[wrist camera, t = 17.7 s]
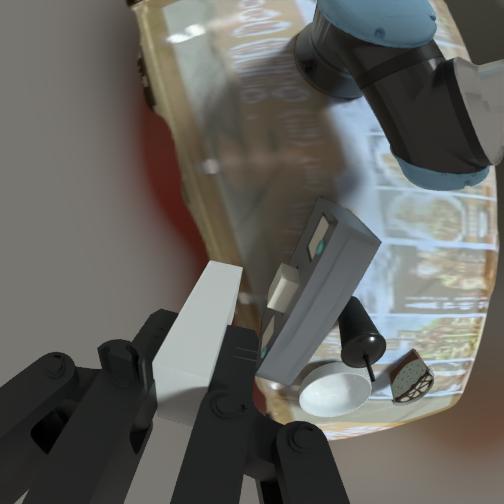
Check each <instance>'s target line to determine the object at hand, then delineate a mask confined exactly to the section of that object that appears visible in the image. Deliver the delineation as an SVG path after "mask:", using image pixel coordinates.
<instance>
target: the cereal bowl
mask: <svg viewBox="0 0 504 504" xmlns="http://www.w3.org/2000/svg"><path fill="white" fill-rule="evenodd" d="M371 390H372V387H371V382H370V379H369V377H368V375H367V373H366V372H365V371H364V370H363V369H362V368H351V367H348V366H347V365H345V364H344V363H343V362H333V363H329V364H325V365H322V366H320V367H318V368H316V369H315V370H313V371H312V372H310V373H309V374H308V375H307V376H306V377H305V379H304V380H303V382H302V383H301V386H300V390H299V403H300V406H301V408H302V409H303V410H304V411H306V412H307V413H309V414H311V415H314V416H319V417H335V416H340V415H344V414H347V413H350V412H352V411H354V410H356V409H358V408H359V407H360V406H362V405H363V404H364V403H365V402H366V401H367V400H368V398H369V396H370V394H371Z"/></svg>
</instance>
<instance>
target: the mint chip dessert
mask: <svg viewBox="0 0 504 504" xmlns="http://www.w3.org/2000/svg"><path fill="white" fill-rule="evenodd" d="M428 367H429V366H428ZM428 367H427V366H426V364H425V363H424V362H423V360H422V359H421V357H420V356H419V354H418V353H417V352H416V350H415V349H412V350H411V351H410V352H409V353H408V354H407V355H406V356H405V357H404V358H403V359H402V360H401V361H400V362H399V363H398V364H397V365H396V366H395V367H394V368H393V369H392V370H391V371H390V372H389V373H388V377H389V381H390V386H391V390H392V395H393V399H394V400H391V401H392V402H393V404H395V405H396V406H403V405H408V404H411V403H413V402H415V401H417V400H419V399H420V398H422V397H423V396H424V395H426V394H427V393H428V392H429V390H430V389H431V388H432V386H433V383H434V373H433V370H432V368H431V367H429V369H428Z"/></svg>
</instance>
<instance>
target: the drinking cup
mask: <svg viewBox="0 0 504 504" xmlns="http://www.w3.org/2000/svg"><path fill="white" fill-rule="evenodd" d="M338 321H339V330H340V338H341V347H342V350H341V359H342V361H343V363H344V364H345V365H347V366H348V367H351V368H364V367H367V370H368V373H369V376H370V380H371V382H374V381H375V377H374V374H373V370H372V367H371V365H372V364H374V363H375V362H377V361H378V360H379V359H380V358H381V357H382V356H383V354H384V353H385V350H386V341H385V339H384V337H383V336H382V335H381V334H380V333H379V332H378V330H377V328H376V327H375V325H374V324H373V322H372V320H371V319H370V317H369V315H368V314H367V312H366V311H365V309H364V308H363V306H362V304H361V303H360V301H359V300H358V299H357V298H356V297H354V296H351V298H350V299H349V301H348V302H347V304H346V306H345V307H344V309H343V311H342V312H341V314H340V315H339V317H338Z"/></svg>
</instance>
